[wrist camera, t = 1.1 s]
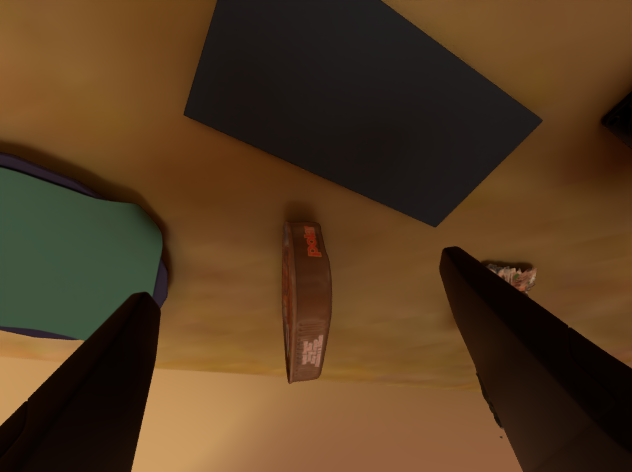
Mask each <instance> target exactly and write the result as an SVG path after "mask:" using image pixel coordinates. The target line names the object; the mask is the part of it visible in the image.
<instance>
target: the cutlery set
mask: <svg viewBox="0 0 632 472" xmlns="http://www.w3.org/2000/svg"><path fill="white" fill-rule="evenodd" d="M162 245H163V243H162V234H161V232H160V230H159V228H158V226H157V225H156V224H155V222H154V221H153V220H152V219H151V218H150V217H149V216H148V214H147V213H146V212H145V211H144V210H143V209H142V208H141V207H140V206H139V205H137V204H133V203H121V202H111V201H108V200H107V199H105V198H104V197H102V196H100V195H99V194H97V193H96V192H94V191H93V190H91V189H89V188H88V187H86V186H85V185H83V184H82V183H80V182H79V181H77V180H75V179H73V178H70V177H68V176H65V175H63V174H60V173H58V172H55V171H53V170H50V169H48V168H45V167H43V166H40V165H38V164H35V163H33V162H30V161H28V160H25V159H23V158H20V157H18V156H15V155H12V154H6V153H1V152H0V330H2V331H7V332H12V333H16V334H21V335H26V336H31V337H37V338H51V339H65V340H84V341H86V340H87V339H88V338H89V337H90V336H91V335H92V334H93V333H94V332H95V331H96V330H97V329H98V328H99V327H100V325H101V324H102V323H103V322H104V321H105V320H106V319H107V318H108V317H109V316H110V315H111V314H112V313H113V312H114V311H115V310H116V309H117V308H118V307H119V306H120V305H121V304H122V303H123V302H124V301H125V300H126V299H127V298H128V297H129V296H130V295H131V294H133V293H138V292H148V293H149V294H150V295H151V296H152V298H153V299H154V300H155V302H156V303H157V304H158V305H159V307H160V308H161V306H162V305H163V303H164V301H165V300H166V298H167V294H168V270H167V268H166V266H165V264H164V262H163V260H162V258H161V252H162Z"/></svg>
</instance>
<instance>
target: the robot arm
mask: <svg viewBox="0 0 632 472" xmlns="http://www.w3.org/2000/svg"><path fill="white" fill-rule="evenodd" d="M613 118H614V119H613ZM612 119H613V120H612ZM611 120H612V121H611ZM602 125H603V126H605V127H606V128H607V129H608V130H609V131H611V132H612V133H613V134H614V135H615V136H617V137H618V138H619V139H620V140H622V141H623V142H624V143H625V144H626V145H628V146H629V147H630V148H631V149H632V92H631V93H630V94H629V95H628V96H626V97H625V98H624V99H623V100H622V101H621V102H620V103H619V104H618V105H616V106H615V107H614V108H613V109H612V110H611V111H610V112H609V113H608V114H606V115H605V117H604V118H603V119H602ZM439 270H440V275H441V278H442V281H443V284H444V288H445V291H446V294H447V297H448V300H449V304H450V307H451V310H452V313H453V316H454V319H455V321H456V324H457V326H458V328H459V331H460V333H461V335H462V337H463V339H464V342H465V344H466V346H467V348H468V351H469V353H470V355H471V357H472V359H473V362H474V364H475V366H476V368H477V371H478V373H479V375H480V377H481V379H482V382H483V384H484V386H485V388H486V391H487V393H488V395H489V397H490V399H491V402H492V404H493V406H494V408H495V411H496V413H497V415H498V417H499V419H500V422H501V424H502V426H503V428H504V430H505V433H506V435H507V437H508V439H509V441H510V444H511V446H512V448H513V450H514V453H515V455H516V457H517V459H518V462H519V464H520V466H521V468H522V470H523V472H632V368H630V367H629V366H627V365H625V364H624V363H622V362H621V361H619V360H618V359H616V358H615V357H613V356H611V355H610V354H608V353H607V352H605V351H604V350H602V349H601V348H600V347H598V346H597V345H595V344H594V343H592V342H591V341H589V340H588V339H586V338H585V337H584V336H582V335H581V334H579V333H578V332H577V331H575V330H574V329H572V328H571V327H569V328H568V325H567V324H565V323H564V322H563V321H561V320H560V319H558V318H557V317H556V316H554V315H553V314H551V313H550V312H549V311H547V310H546V309H544V308H543V307H542V306H540V305H539V304H538V303H536V302H535V301H533V300H532V299H531V298H529V297H528V296H526V295H525V294H524V293H522V292H521V291H519V290H518V289H517V288H515V287H514V286H512V285H511V284H510V283H508V282H507V281H505V280H504V279H503V278H501V277H500V276H499V275H497V274H496V273H494V272H493V271H492V270H490V269H489V268H487V267H486V266H485V265H483V264H482V263H480V262H479V261H478V260H476V259H475V258H473V257H472V256H471V255H469V254H468V253H467V252H465V251H464V250H462V249H461V248H459V247H457V246H454V247H447V248H444V249H443V250H442V255H441V260H440V266H439ZM160 316H161V310H160V307H159V305H158V304H157V303H156V302H155V300H154V299H153V298H152V296H151V295H150V294H149V293H148V292H138V293H133V294H131V295H130V296H129V297H128V298H127V299H126V300H125V301H124V302H123V303H122V304H121V305H120V306H119V307H118V308H117V309H116V310H115V311H114V312H113V313H112V314H111V315H110V316H109V317H108V318H107V319H106V320H105V321H104V322H103V323H102V324H101V325H100V327H99V328H98V329H97V330H96V331H95V332H94V333H93V334H92V335H91V336H90V337H89V338H88V339H87V340H86V341H85V342H84V343H83V344H82V345H81V346H80V347H79V348H78V349H77V350H76V351H75V352H74V353H73V354H72V355H71V356H70V357H69V358H68V359H67V360H66V361H65V362H64V363H63V364H62V365H61V366H60V367H59V368H58V369H57V370H56V371H55V372H54V373H53V374H52V375H51V376H50V377H49V378H48V379H47V380H46V381H45V382H44V383H43V384H42V385H41V386H40V387H39V388H38V389H37V390H36V391H35V392H34V393H33V394H32V395H31V396H30V397H29V398H28V401H25V402H24V403H23V404H22V405H21V406H20V407H19V408H18V409H17V410H16V411H15V412H14V413H13V414H12V415H11V416H10V417H9V418H8V419H7V420H6V421H5V422H4V423H3V424H2V425H1V426H0V472H131V469H132V465H133V460H134V456H135V451H136V447H137V442H138V438H139V433H140V429H141V424H142V420H143V415H144V411H145V406H146V402H147V397H148V393H149V388H150V384H151V379H152V374H153V370H154V366H155V360H156V354H157V345H158V335H159V326H160Z"/></svg>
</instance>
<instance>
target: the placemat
mask: <svg viewBox="0 0 632 472" xmlns="http://www.w3.org/2000/svg"><path fill="white" fill-rule="evenodd" d="M184 115H185V116H187V117H189V118H191V119H194V120H196V121H198V122H200V123H203V124H205V125H207V126H209V127H212V128H214V129H216V130H218V131H220V132H223V133H225V134H227V135H229V136H232V137H234V138H236V139H238V140H241V141H243V142H245V143H247V144H250V145H252V146H254V147H256V148H259V149H261V150H263V151H265V152H267V153H270V154H272V155H274V156H276V157H279V158H281V159H283V160H285V161H288V162H290V163H292V164H294V165H297V166H299V167H301V168H303V169H306V170H308V171H310V172H312V173H314V174H317V175H319V176H321V177H323V178H326V179H328V180H330V181H332V182H335V183H337V184H339V185H341V186H344V187H346V188H348V189H350V190H353V191H355V192H357V193H359V194H361V195H364V196H366V197H368V198H370V199H373V200H375V201H377V202H379V203H382V204H384V205H386V206H388V207H391V208H393V209H395V210H397V211H399V212H402V213H404V214H406V215H408V216H411V217H413V218H415V219H417V220H420V221H422V222H424V223H426V224H429V225H431V226H433V227H437V226H438V225H439V224H440V223H441V222H442V221H443V220H444V219H445V218H446V217H447V216H448V215H449V214H450V213H451V212H452V211H453V210H454V209H455V208H456V207H457V206H458V205H459V204H460V203H461V202H462V201H463V200H464V199H465V198H466V197H467V196H468V195H469V194H470V193H471V192H472V191H473V190H474V189H475V188H476V187H477V186H478V185H479V184H480V183H481V182H482V181H483V180H484V179H485V178H486V177H487V176H488V175H489V174H490V173H491V172H492V171H493V170H494V169H495V168H496V167H497V166H498V165H499V164H500V163H501V162H502V161H503V160H504V159H505V158H506V157H507V156H508V155H509V154H510V153H511V152H512V151H513V150H514V149H515V148H516V147H517V146H518V145H519V144H520V143H521V142H522V141H523V140H524V139H525V138H526V137H527V136H528V135H529V134H530V133H531V132H532V131H533V130H534V129H535V128H536V127H537V126H538V125H539V124H540V123H541V122H542V121H543V120H542V119H540V118H539V117H538V116H536V115H535V114H534V113H532V112H531V111H530V110H528V109H527V108H525V107H524V106H523V105H521V104H520V103H519V102H517V101H516V100H515V99H513V98H512V97H511V96H509V95H508V94H507V93H505V92H504V91H503V90H501V89H500V88H498V87H497V86H496V85H494V84H493V83H492V82H490V81H489V80H488V79H486V78H485V77H484V76H482V75H481V74H480V73H478V72H477V71H475V70H474V69H473V68H471V67H470V66H469V65H467V64H466V63H465V62H463V61H462V60H461V59H459V58H458V57H457V56H455V55H454V54H453V53H451V52H450V51H448V50H447V49H446V48H444V47H443V46H442V45H440V44H439V43H438V42H436V41H435V40H434V39H432V38H431V37H430V36H428V35H427V34H426V33H424V32H423V31H421V30H420V29H419V28H417V27H416V26H415V25H413V24H412V23H411V22H409V21H408V20H407V19H405V18H404V17H403V16H401V15H400V14H399V13H397V12H396V11H394V10H393V9H392V8H390V7H389V6H388V5H386V4H385V3H384V2H382V1H381V0H217V3H216V7H215V10H214V13H213V17H212V20H211V24H210V27H209V30H208V34H207V37H206V40H205V44H204V47H203V50H202V54H201V57H200V60H199V64H198V67H197V70H196V74H195V77H194V81H193V84H192V87H191V91H190V94H189V97H188V101H187V104H186V107H185V111H184Z"/></svg>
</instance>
